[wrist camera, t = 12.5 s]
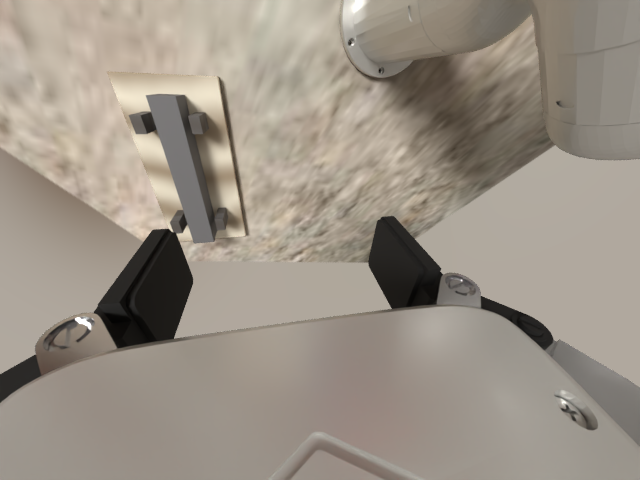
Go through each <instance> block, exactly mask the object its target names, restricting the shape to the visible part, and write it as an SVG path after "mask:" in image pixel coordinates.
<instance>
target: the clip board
mask: <svg viewBox="0 0 640 480" xmlns="http://www.w3.org/2000/svg"><path fill="white" fill-rule="evenodd" d="M107 73H108V76H109V78H110V81H111V84H112V86H113V89H114V91H115V94H116V96H117V99H118V101H119V104H120V106H121V109H122V111H123V114H124V117H125V119H126V122H127V124H128V127H129V129H130V132H131V134H132V137H133V139H134V142H135V144H136V147H137V150H138V152H139V155H140V157H141V160H142V162H143V165H144V167H145V170H146V172H147V175H148V177H149V180H150V183H151V185H152V188H153V190H154V193H155V195H156V198H157V200H158V203H159V205H160V208H161V210H162V213H163V216H164V218H165V221H166V223H167V226H168V228H169V229H170V230H171V232H175V233H176V234H177V237H178V240H179V242H180V241H192V240H193V239H192V236H191V233H190V230H189V227H188V224H187V221H186V218H185V214H184V211H183V208H182V205H181V202H180V199H179V196H178V193H177V190H176V187H175V184H174V181H173V178H172V175H171V171H170V168H169V165H168V162H167V159H166V156H165V153H164V150H163V147H162V144H161V141H160V138H159V135H158V132H157V129H156V125H155V122H154V119H153V116H152V113H151V110H150V107H149V104H148V101H147V98H146V95H152V94H179V95H185V97H186V101H187V105H188V109H189V114H190V115H189V116H188V118H189V122H190V126H191V130H192V134H195V138H196V142H197V146H198V150H199V154H200V159H201V163H202V167H203V171H204V175H205V179H206V183H207V187H208V191H209V195H210V199H211V204H212V208H213V212H214V216H215V219H214V220H215V223H216V227H217V233H216V237H215V239H216V238H228V237H240V236H246V231H245V225H244V220H243V214H242V208H241V202H240V197H239V191H238V185H237V179H236V174H235V168H234V162H233V156H232V151H231V145H230V139H229V134H228V128H227V122H226V116H225V111H224V105H223V99H222V93H221V88H220V82H219V77H218V76H196V75H173V74H151V73H128V72H107Z"/></svg>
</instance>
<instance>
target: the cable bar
mask: <svg viewBox="0 0 640 480" xmlns="http://www.w3.org/2000/svg"><path fill="white" fill-rule="evenodd" d="M146 98H147V101H148V104H149V107H150V110H151V113H152V116H153V119H154V122H155V125H156V129H157V132H158V135H159V138H160V141H161V144H162V147H163V150H164V153H165V156H166V159H167V162H168V165H169V168H170V171H171V175H172V178H173V181H174V184H175V187H176V190H177V193H178V196H179V199H180V202H181V205H182V208H183V211H184V214H185V218H186V221H187V224H188V227H189V230H190V233H191V236H192V239H193V242H194V243H205V242H214V240H215V237H216V233H217V227H216V223H215V220H214V219H215V216H214V212H213V208H212V204H211V199H210V195H209V191H208V187H207V183H206V179H205V175H204V171H203V167H202V163H201V159H200V154H199V150H198V146H197V142H196V138H195V134H192V130H191V126H190V122H189V118H188V116H189V115H190V114H189V109H188V105H187V101H186V97H185V95H179V94H152V95H146Z"/></svg>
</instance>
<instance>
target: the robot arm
mask: <svg viewBox="0 0 640 480" xmlns="http://www.w3.org/2000/svg"><path fill="white" fill-rule="evenodd" d="M531 14H532V17H533V23H534V33H535V43H536V46H537V47H538V58H539V70H540V82H541V94H542V106H543V116H544V121H545V127H546V130H547V133H548V135H549V137H550V139H551V140H552V142H553V143H554V144H555V145H556V146H557V147H558V148H560V149H561V150H563V151H565V152H567V153H569V154H572V155H575V156H578V157H584V158H589V159H597V160H631V159H640V0H342V2H341V7H340V32H341V37H342V42H343V45H344V48H345V51H346V53H347V55H348V57H349V59H350V60H351V62H352V63H353V64H354V66H355V67H356V68H357V69H358V70H360V71H361V72H362V73H364V74H366V75H368V76H371V77H377V78H385V77H390V76H394V75H396V74H398V73H400V72H402V71H403V70H404V69H405V68H407V67H408V66H409V65H410V64H411V63H412V62H413V61H414V60H417V59H424V58H432V57H439V56H446V55H453V54H460V53H466V52H472V51H477V50H480V49H483V48H486V47H488V46H490V45H493V44H494V43H496V42H498V41H500V40H501V39H503V38H504V37H506V36H507V35H508V34H510V33H511V32H513V31H514V30H515V29H516V28H517V27H519V26H520V25H521V24H522V23H523V22H524V21H525V20H526V19H527V18H528V17H529V16H530V15H531ZM348 41H350V42H351V45H350V46H349V45H348ZM379 69H380V73H379V72H378V70H379ZM369 267H370V269H371V271H372V273H373V275H374V276H375V278H376V280H377V282H378V284H379V286H380V288H381V290H382V291H383V293H384V295H385V297H386V299H387V301H388V303H389V304H390V306H391V308H392V309H388V310H381V311H374V312H373V311H372V312H365V313H357V314H350V315H342V316H334V317H327V318H319V319H311V320H305V321H297V322H290V323H282V324H275V325H267V326H260V327H253V328H246V329H238V330H231V331H224V332H217V333H210V334H203V335H196V336H190V337H183V338H177V339H174V336H175V333H176V330H177V327H178V325H179V322H180V319H181V316H182V313H183V310H184V308H185V305H186V302H187V299H188V296H189V293H190V291H191V288H192V285H193V277H192V274H191V271H190V269H189V266H188V264H187V261H186V258H185V255H184V253H183V250H182V248H181V245H180V242H179V240H178V237H177V234H176V233H175V232H171V230H170V229H158V230H152V231H151V233H150V234H149V236H148V237H147V238H146V240H145V241H144V242H143V244H142V245H141V247H140V248H139V249H138V251H137V252H136V253H135V255H134V256H133V257H132V259H131V260H130V261H129V263H128V264H127V266H126V267H125V268H124V270H123V271H122V272H121V274H120V275H119V276H118V278H117V279H116V281H115V282H114V283H113V285H112V286H111V287H110V289H109V290H108V291H107V293H106V294H105V296H104V297H103V298H102V300H101V301H100V302H99V304H98V307H97V309H96V310H95V311H94V313H81V314H78V315H74V316H71V317H69V318H66V319H64V320H62V321H60V322H58V323H57V324H55V325H54V326H53V327H51V328H50V329H48V330H47V331H46V332H45V333H44V334H43V335H42V336H41V337H40V338H39V340H38V341H37V343H36V345H35V353H36V355H34V356H32V357H30V358H29V359H27V360H25V361H23V362H21V363H20V364H18V365H16V366H14V367H13V368H11V369H9V370H7V371H5V372H4V373H2V374H0V480H640V387H638V386H637V385H635V384H634V383H632V382H631V381H629V380H628V379H626V378H624V377H623V376H621V375H619V374H618V373H616V372H614V371H612V370H611V369H609V368H607V367H606V366H604V365H602V364H601V363H599V362H597V361H596V360H594V359H592V358H590V357H589V356H587V355H585V354H584V353H582V352H580V351H578V350H577V349H575V348H573V347H572V346H570V345H568V344H567V343H565V342H563V341H561V340H558V341H557V342H556V341H554V340H553V337H552V335H551V333H550V331H549V330H548V329H547V328H546V327H545V326H544V325H543V324H542V323H540V322H539V321H538V320H536V319H534V318H533V317H530V316H528V315H526V314H524V313H521V312H519V311H517V310H514V309H512V308H509V307H507V306H504V305H502V304H499V303H497V302H494V301H492V300H490V299H487V298H485V297H482V296H481V292H480V289H479V287H478V286H477V284H475V282H473V281H472V280H471V279H469V278H467V277H466V276H463V275H461V274H456V273H447V274H444V275H443V274H442V273H441V272H440V270H441V268H440V267H439V266H438V265H437V263H436V262H435V261H434V260H433V259H432V258H431V257H430V256H429V255H428V253H427V252H426V251H425V250H424V249H423V248H422V247H421V246H420V245H419V243H418V242H417V241H416V240H415V239H414V238H413V237H412V236H411V235H410V234H409V232H408V231H407V230H406V229H405V228H404V227H403V226H402V225H401V224H400V223H399V221H398V220H397V219H396V218H395V217H394V216H388V217H381V219H380V220H378V221H377V225H376V229H375V234H374V238H373V243H372V247H371V252H370V256H369Z"/></svg>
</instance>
